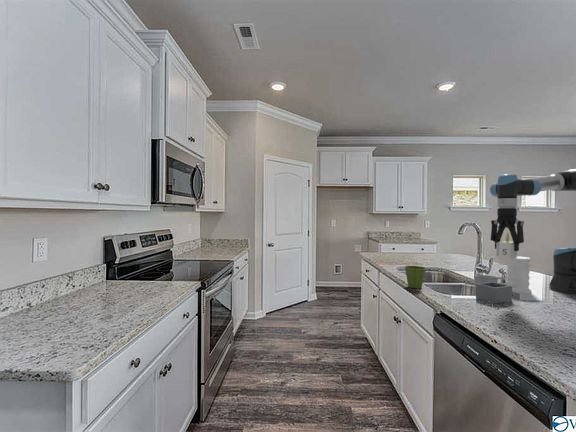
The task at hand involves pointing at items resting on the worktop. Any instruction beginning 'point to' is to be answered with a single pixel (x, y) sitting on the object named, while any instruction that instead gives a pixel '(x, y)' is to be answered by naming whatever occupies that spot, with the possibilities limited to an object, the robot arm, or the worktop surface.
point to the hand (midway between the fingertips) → (506, 256)
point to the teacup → (487, 279)
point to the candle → (506, 252)
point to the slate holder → (494, 292)
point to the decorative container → (519, 275)
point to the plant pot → (415, 276)
